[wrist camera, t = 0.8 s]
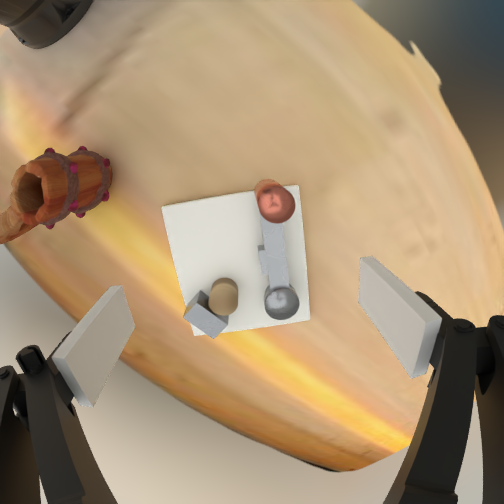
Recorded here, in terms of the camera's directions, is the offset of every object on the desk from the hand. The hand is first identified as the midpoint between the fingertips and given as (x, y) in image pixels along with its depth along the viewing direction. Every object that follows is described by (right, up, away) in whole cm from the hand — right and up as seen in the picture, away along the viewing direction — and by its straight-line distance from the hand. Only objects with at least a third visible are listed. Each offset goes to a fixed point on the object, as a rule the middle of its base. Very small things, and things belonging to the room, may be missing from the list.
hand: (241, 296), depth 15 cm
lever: (+3, +3, +20) cm, 21 cm away
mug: (-23, +11, +19) cm, 32 cm away
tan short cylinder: (-3, -3, +23) cm, 23 cm away
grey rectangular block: (-5, -5, +24) cm, 25 cm away
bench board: (-1, +1, +23) cm, 23 cm away
